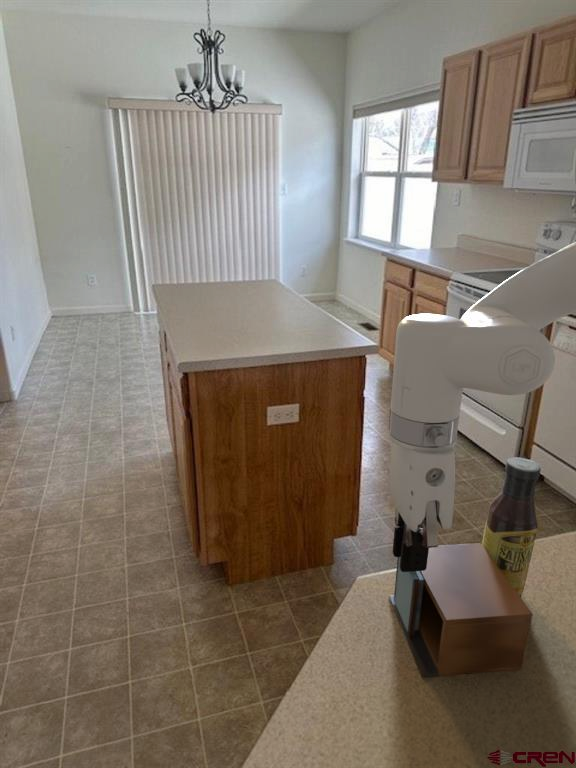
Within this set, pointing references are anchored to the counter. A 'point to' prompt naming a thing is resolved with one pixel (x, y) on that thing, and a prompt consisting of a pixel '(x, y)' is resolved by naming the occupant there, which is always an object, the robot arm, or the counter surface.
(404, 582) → the glass door
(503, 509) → the sauce bottle
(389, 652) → the counter surface
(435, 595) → the cabinet
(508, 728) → the counter surface
